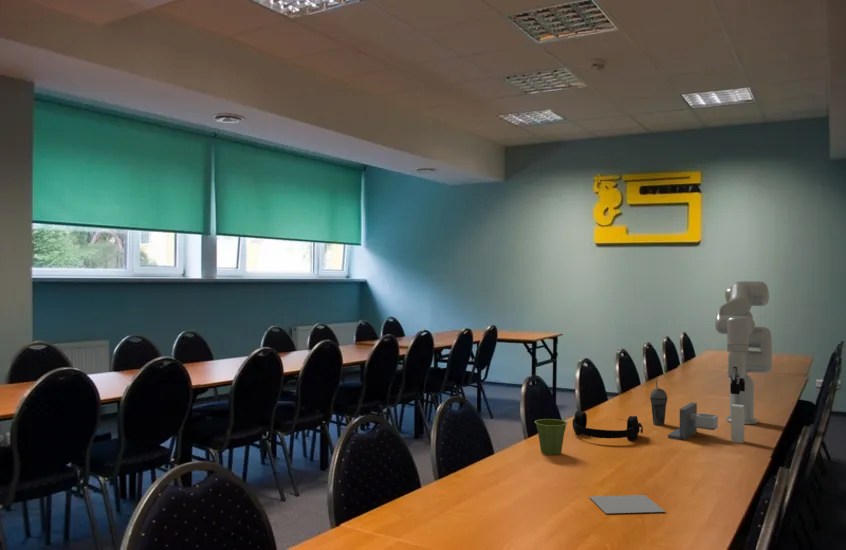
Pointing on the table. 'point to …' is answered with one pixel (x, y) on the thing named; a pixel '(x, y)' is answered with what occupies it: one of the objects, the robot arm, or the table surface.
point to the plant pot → (551, 435)
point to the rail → (737, 423)
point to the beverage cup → (658, 405)
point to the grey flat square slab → (626, 504)
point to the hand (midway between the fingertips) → (737, 392)
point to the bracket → (693, 422)
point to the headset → (630, 432)
